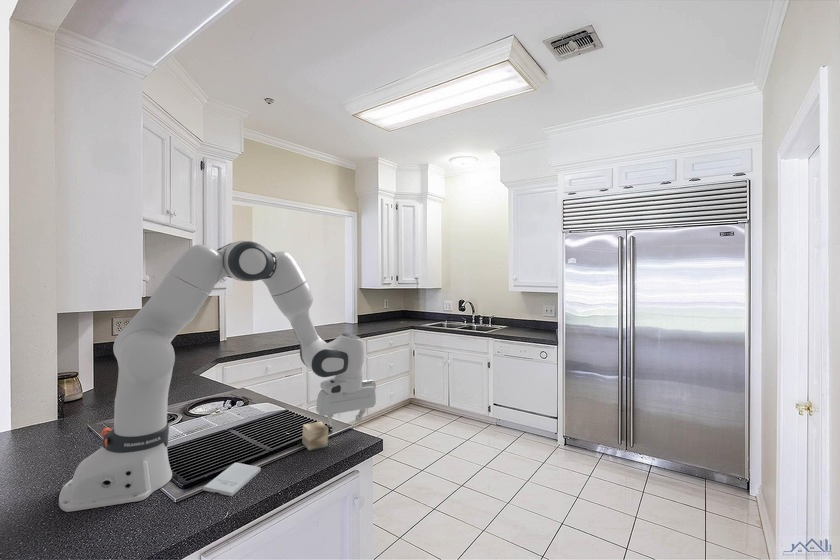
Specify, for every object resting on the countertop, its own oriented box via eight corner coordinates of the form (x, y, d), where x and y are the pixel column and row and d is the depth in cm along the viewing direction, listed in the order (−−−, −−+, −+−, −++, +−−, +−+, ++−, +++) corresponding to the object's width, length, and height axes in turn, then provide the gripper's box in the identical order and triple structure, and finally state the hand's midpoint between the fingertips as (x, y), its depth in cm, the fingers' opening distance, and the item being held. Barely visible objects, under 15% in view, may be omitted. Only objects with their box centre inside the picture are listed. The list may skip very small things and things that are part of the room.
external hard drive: (260, 472, 114) (231, 498, 102) (234, 467, 115) (202, 492, 103) (261, 467, 114) (231, 492, 101) (234, 462, 115) (202, 485, 103)
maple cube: (309, 451, 127) (310, 432, 126) (302, 442, 132) (303, 424, 131) (327, 446, 130) (328, 428, 130) (319, 439, 135) (321, 421, 135)
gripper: (371, 376, 144) (368, 414, 145) (315, 383, 132) (312, 425, 133) (380, 381, 139) (377, 421, 140) (323, 389, 127) (320, 433, 128)
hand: (345, 423), depth 137 cm, fingers open, 8 cm apart
